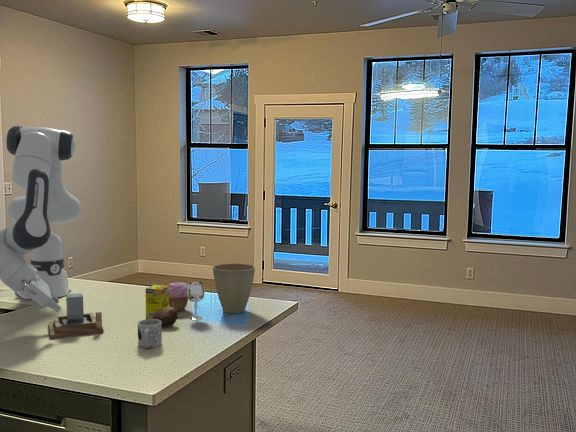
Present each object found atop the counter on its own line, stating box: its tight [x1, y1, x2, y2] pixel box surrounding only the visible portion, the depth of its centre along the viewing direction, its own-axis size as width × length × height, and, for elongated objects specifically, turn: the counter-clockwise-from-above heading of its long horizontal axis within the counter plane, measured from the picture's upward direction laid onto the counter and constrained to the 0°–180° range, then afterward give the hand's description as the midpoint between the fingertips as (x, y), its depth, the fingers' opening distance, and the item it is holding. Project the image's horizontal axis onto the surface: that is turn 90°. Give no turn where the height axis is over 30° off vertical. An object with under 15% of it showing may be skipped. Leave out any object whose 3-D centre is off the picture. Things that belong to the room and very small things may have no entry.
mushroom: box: [153, 307, 179, 328], centre depth 182 cm, size 8×8×6 cm
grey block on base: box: [63, 292, 88, 325], centre depth 177 cm, size 7×7×10 cm
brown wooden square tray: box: [48, 311, 104, 339], centre depth 177 cm, size 15×15×6 cm
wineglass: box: [187, 281, 205, 321], centre depth 190 cm, size 6×6×12 cm
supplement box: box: [145, 284, 169, 320], centre depth 189 cm, size 6×6×11 cm
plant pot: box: [212, 262, 256, 315], centre depth 200 cm, size 15×15×16 cm
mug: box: [137, 319, 163, 350], centre depth 162 cm, size 10×7×7 cm, turn 4°
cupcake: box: [167, 281, 189, 312], centre depth 201 cm, size 9×9×10 cm
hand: (58, 306), depth 175 cm, fingers open, 8 cm apart
